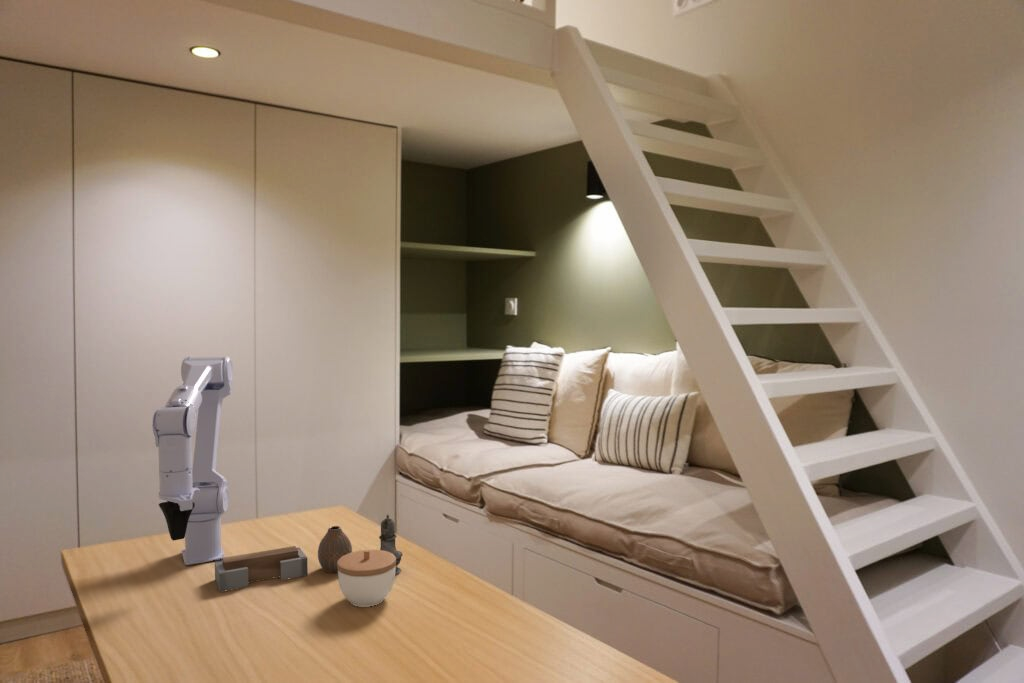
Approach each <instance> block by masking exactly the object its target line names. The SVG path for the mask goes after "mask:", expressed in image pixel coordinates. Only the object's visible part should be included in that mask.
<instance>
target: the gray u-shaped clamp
mask: <svg viewBox="0 0 1024 683" xmlns="http://www.w3.org/2000/svg"><path fill="white" fill-rule="evenodd" d="M214 579H215V583H216V582H217V583H216V585H218V586H217V589H218V588H219V589H218V591H219V592H220V591H224V592H226V591H225V590H229V591H232V590H231V589H234V590H237V589H236V588H239V589H242V588H241V587H244V588H248V587H249V583H248V568H247V567H244V568H238V569H233V570H227V571H225V569H224V566H223V560H216V561H214ZM247 586H248V587H247Z"/></svg>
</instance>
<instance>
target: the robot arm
mask: <svg viewBox="0 0 1024 683" xmlns="http://www.w3.org/2000/svg"><path fill="white" fill-rule="evenodd" d="M180 376H181V379H182V381H183V384H182V385H179V386H177V387H176V388H175V389H174V390H173V392H172V393H171V395H170V397H169V398H168V400H167V402H166V404H165V406H164V407H163V406H162V407H159V409H156V410H155V412H154V413H153V416H152V426H151V427H152V433H153V435H154V440H155V441H154V443H155V447H157V448H158V451H157V452H158V477H159V478H158V479H159V480H158V481H159V492H158V498H159V500H162V501H163V502H159V504H158V507H159V508H160V510H161V512H162V513H163V516H164V518H165V521H166V525H167V529H168V533H169V537H170V539H171V540H172V541H173V542H174V541H179V540H183V539H184V544H185V545H184V549H181V555H182V558H183V563H184V566H191V565H192V566H193V565H195V564H196V565H197V564H203V563H208V562H214V561H213V560H215V561H221V560H223V558H225V557H227V556H226V553H225V552H224V549H223V548H222V523H221V522H222V519H221V516H222V515H224V514H225V512H227V510H228V508H229V501H230V500H229V483H228V480H227V478H226V477H225V476H224V475H222V474H221V473H219V472H218V471H216V470H217V461H218V460H217V459H218V447H219V435H220V426H221V425H220V424H221V414H222V406H223V402H224V398H227V397H228V396H230V395H231V393H232V390H233V380H234V379H233V378H234V366H233V360H232V358H231V357H230V356H229V355H225V356H185V357H184V359H183V360H182V362H181V366H180ZM195 428H196V432H195ZM194 432H195V443H194V452H192V450H193V449H192V447H193V446H192V436H193V434H194ZM220 559H221V560H220Z"/></svg>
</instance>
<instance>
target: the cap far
mask: <svg viewBox="0 0 1024 683" xmlns="http://www.w3.org/2000/svg"><path fill="white" fill-rule="evenodd" d="M296 548H297V550H298V558H294V559H288V560H283V561H280V577H279V579H280V581H284V579H286V580H289V579H288V578H291V579H294V578H293V577H296V578H301V577H306V576H308V574H309V573H308V570H309V569H308V556H307V555H306V554H305V553H304V551H303V550H302V549H301V548H300V546H299V547H296ZM300 576H301V577H300Z"/></svg>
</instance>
